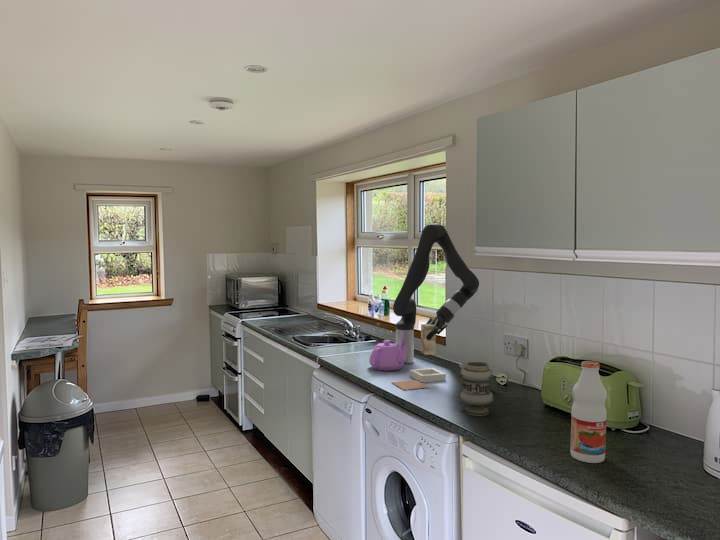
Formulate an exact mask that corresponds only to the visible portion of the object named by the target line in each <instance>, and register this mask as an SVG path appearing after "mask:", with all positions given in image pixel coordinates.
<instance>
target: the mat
mask: <svg viewBox="0 0 720 540" xmlns="http://www.w3.org/2000/svg"><path fill="white" fill-rule="evenodd" d="M392 383H393V384H392ZM391 384H392V385H394V386H395V385H396V386H395V387H397V386H398V387H397V388H398V389H400V388H401V389H400V390H402V389H403V390H404V391H408V390H407V389H415V390H422V389H421V388H425V389H430V387H429V386H428V385H426V384H425V383H421V382H420V381H418V380H416V379H414V380H403V381H402V380H400V381H393V382H391ZM403 390H402V391H403Z"/></svg>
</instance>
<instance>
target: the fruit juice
mask: <svg viewBox="0 0 720 540" xmlns="http://www.w3.org/2000/svg"><path fill="white" fill-rule="evenodd" d="M580 366H581V373H580V375H579V377H578V381H576V382H575V384H574V386H573V388H572V396H573V403H572V406H571V412H570V416H571V419H570V420H571V422H570V423H571V424H570V455H571V457H572V458H573V459H575V460H577V461H580V462H584V463H589V464H599V463H602V462H604V461H605V459H606V442H607V440H606V439H607V409H606V406H605V404H606V401H607V397H608V395H607V393H608V392H607V389H606V387H605V386H604V384H603V382H602V379H601V376H600V373H599V370H600V366H601V365H600V363H599V362H598V361H593V360H592V361H591V360H584V361H581V364H580Z"/></svg>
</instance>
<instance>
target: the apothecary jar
mask: <svg viewBox="0 0 720 540" xmlns="http://www.w3.org/2000/svg"><path fill="white" fill-rule="evenodd" d="M460 376H461V379H462V378H463V379H464V385H463V390H462V391H461V392H460V395H459V397H460V400H461V401H462V402H463V403H465V404H466V405H467V406H465V407H463V409H462V412H463V413H465V414H467V415H470V416H476V417H485V416H488V415H490V413H491V410H489V408H487V407H485V406H488V405H489V404H491V403H492V402H493V401H494V394H493V393H492V392H491V380H492V379H493V378H494V372H493V371H492V370H491V369H490V365H489V363H488V362H485V361H478V360H477V361H476V360H475V361H467V362H466V364H465V368H464V369H462V371H460ZM468 405H469V406H468Z"/></svg>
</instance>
